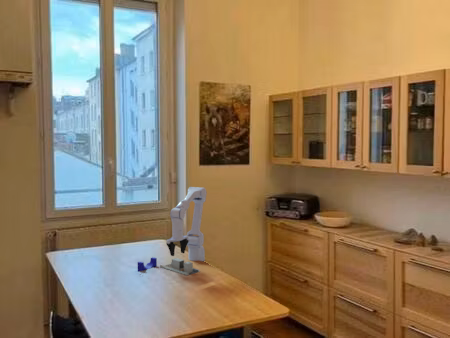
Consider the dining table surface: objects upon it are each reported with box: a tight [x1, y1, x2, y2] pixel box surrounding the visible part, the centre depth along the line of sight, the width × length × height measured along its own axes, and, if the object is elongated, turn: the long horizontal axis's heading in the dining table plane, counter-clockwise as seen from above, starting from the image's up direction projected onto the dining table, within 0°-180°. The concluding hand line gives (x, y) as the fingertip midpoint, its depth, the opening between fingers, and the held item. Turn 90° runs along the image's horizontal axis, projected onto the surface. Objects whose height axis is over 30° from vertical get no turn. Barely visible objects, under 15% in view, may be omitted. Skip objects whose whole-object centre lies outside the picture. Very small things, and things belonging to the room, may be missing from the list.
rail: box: [159, 261, 201, 277], centre depth 255 cm, size 10×22×2 cm, turn 48°
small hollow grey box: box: [184, 261, 194, 273], centre depth 250 cm, size 4×3×5 cm
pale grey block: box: [171, 257, 185, 270], centre depth 255 cm, size 4×6×5 cm, turn 48°
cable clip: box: [137, 256, 158, 272], centre depth 257 cm, size 12×4×6 cm, turn 147°
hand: (177, 254), depth 256 cm, fingers open, 7 cm apart
